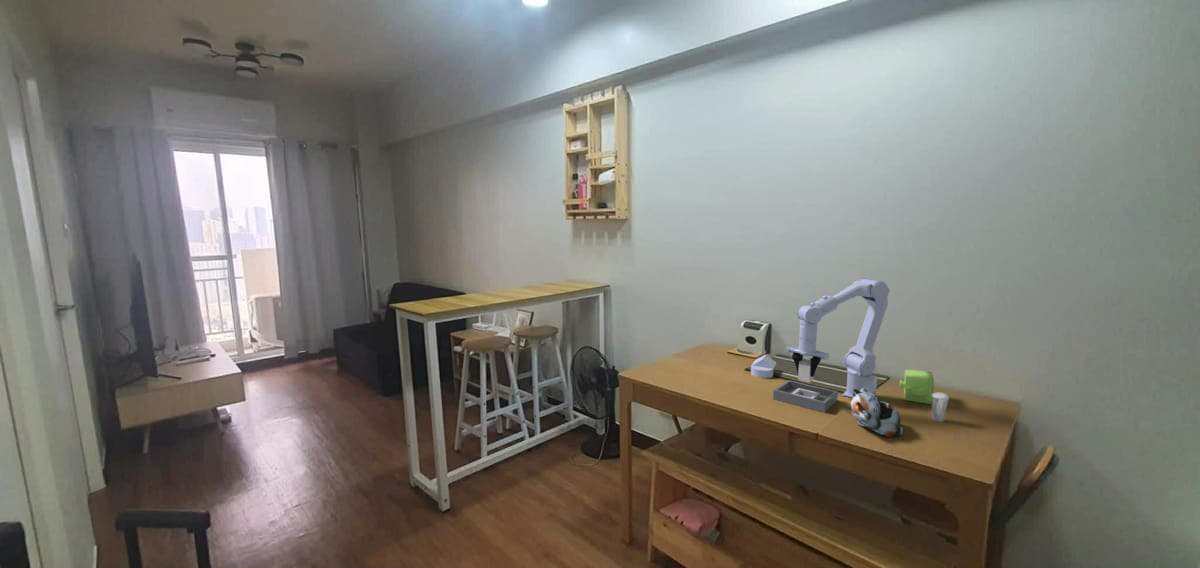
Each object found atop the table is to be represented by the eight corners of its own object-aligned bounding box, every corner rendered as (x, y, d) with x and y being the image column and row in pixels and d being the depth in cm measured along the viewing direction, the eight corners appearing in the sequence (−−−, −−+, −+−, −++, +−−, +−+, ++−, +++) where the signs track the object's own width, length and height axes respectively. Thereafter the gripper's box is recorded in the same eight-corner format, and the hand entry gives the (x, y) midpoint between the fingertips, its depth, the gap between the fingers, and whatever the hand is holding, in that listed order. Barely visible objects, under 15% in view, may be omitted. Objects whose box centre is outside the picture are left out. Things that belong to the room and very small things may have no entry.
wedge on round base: (755, 367, 206) (748, 376, 195) (755, 352, 205) (749, 360, 194) (776, 370, 201) (771, 379, 190) (776, 355, 200) (771, 364, 189)
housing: (837, 400, 168) (837, 391, 167) (824, 412, 158) (825, 403, 157) (787, 388, 180) (788, 380, 179) (773, 399, 170) (773, 390, 169)
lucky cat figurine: (904, 442, 136) (886, 404, 134) (861, 446, 144) (843, 410, 142) (902, 410, 148) (885, 375, 146) (862, 416, 155) (845, 382, 153)
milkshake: (927, 414, 155) (929, 386, 154) (946, 419, 152) (949, 390, 150) (925, 419, 152) (928, 390, 150) (946, 423, 148) (949, 394, 147)
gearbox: (898, 388, 181) (899, 364, 180) (929, 391, 175) (930, 367, 174) (900, 403, 165) (900, 377, 164) (933, 407, 160) (934, 381, 159)
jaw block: (813, 379, 169) (814, 361, 168) (809, 382, 166) (810, 364, 165) (801, 377, 171) (803, 359, 170) (797, 380, 168) (798, 361, 168)
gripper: (783, 337, 168) (781, 372, 170) (825, 344, 158) (822, 382, 160) (790, 333, 173) (789, 368, 175) (831, 340, 163) (829, 377, 165)
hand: (805, 374), depth 168 cm, fingers closed on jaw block, 4 cm apart
